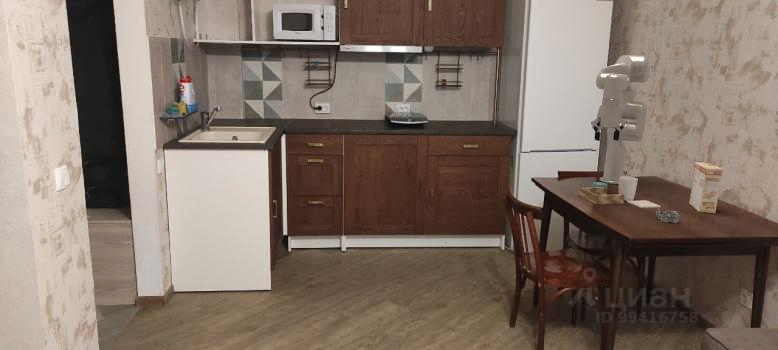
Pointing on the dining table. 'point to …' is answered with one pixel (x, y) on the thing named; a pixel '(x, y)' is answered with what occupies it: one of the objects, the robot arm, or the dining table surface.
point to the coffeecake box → (705, 187)
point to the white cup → (627, 187)
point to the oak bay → (600, 196)
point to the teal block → (599, 185)
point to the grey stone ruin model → (667, 216)
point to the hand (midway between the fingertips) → (606, 140)
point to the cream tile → (644, 204)
